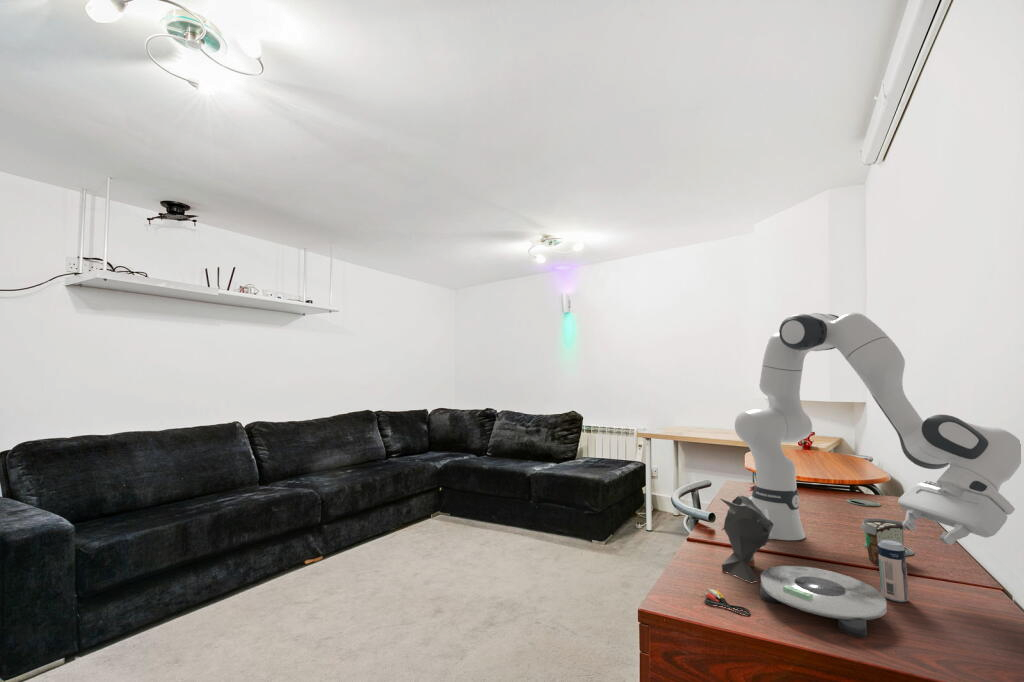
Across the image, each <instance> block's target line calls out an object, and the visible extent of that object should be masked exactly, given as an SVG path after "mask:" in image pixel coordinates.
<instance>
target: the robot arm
mask: <svg viewBox="0 0 1024 682" xmlns="http://www.w3.org/2000/svg"><path fill="white" fill-rule="evenodd" d="M778 330H779V331H778V332H777V333H774V334H772V336H770V337H769V339H768V342H767V345H766V347H765V351H764V353H763V354H764V355H763V358H762V359H763V360H762V365H761V366H762V367H761V372H760V379H759V389H760V391H761V392H762V393H763V394H764V395H765V396H767V400H768V408H752V409H750V410H745V411H743V412H740V413H739V414H738V415H736V418H735V420H734V429H735V433H736V434H737V436H738V438H739V439H741V440H742V441H743V442H744V443H745V444H746V445H747V446H748V448H749V450H750V452H751V454H752V457H753V461H754V466H755V479H756V484H755V485H753V486H751V487H749V489H748V491H749V492H752V493H751V496H749V497H748V498H749V499H750V500H752V502H753V503H754V505H755V506H756V507H757V508H758V509H760V510H761V512H762V513H763V514H764V516H765V517H766V518H767V519H769V520H770V521H771V522H772V523H773V524H774V525H773V527H772V529H771V532H770V535H769V538H768V540H772V539H773V540H781V541H800V540H803V539H805V538H806V534H805V531H804V529H803V527H802V526H803V525H802V521H801V517H800V516H801V515H800V512H799V511H800V510H799V508H800V498H799V489H798V488H797V474H796V473H797V472H796V465H795V463H794V461H793V460H792V459H791V458H788V457H787V456H786V455H785V453H784V449H783V448H782V444H784V443H785V444H786V443H795V442H797V443H798V442H800V441H803V440H805V439H808V437H810V435H812V433H813V432H812V431H813V423H812V420H811V418H810V416H809V415H808V414H807V413H806V412H805V411H804V409H803V406H802V402H801V398H800V397H801V395H800V391H801V383H802V382H801V381H802V375H803V369H804V361H805V358H806V356H807V354H808V353H810V352H822V351H830V350H834V349H836V350H837V351H839V353H840V354H841V355H842V356H843V357H844V358H845V360H846V361H847V362H848V364H849V365H850V366H851V368H852V369H853V370H854V371H855V373H856V374H857V375H858V376H859V378H860V379H861V381H862V382H863V384H864V385H865V386H866V388H867V390H868V391H869V393H870V394H871V396H872V398H873V399H874V401H875V403H876V404H877V405H878V407H879V408H880V410H881V411H882V413H883V414H884V416H885V417H886V418H887V420H888V422H889V423H890V424H891V426H892V427H893V429H894V430H895V432H896V434H897V436H898V439H899V441H900V446H901V450H902V453H903V454H904V455H905V457H906V458H907V459H908V460H909V461H910V462H911V463H913V464H915V465H916V466H918V467H921V468H923V469H928V470H941V469H944V468H946V467H947V469H946V470H945V471H944V472H943V473H942V475H940V477H939V478H938V479H937V480H936V482H933V481H931V480H925V481H922V482H918V483H915V484H914V485H912V486H911V487H909V488H908V490H906V491H905V492H904V493H903V494H902V495H900V497H899V498H898V500H897V501H898V506H899V507H901V508H902V509H903V510H904V511H905V520H903V521H902V522H903V523H902V526H904V527H905V530H909V531H914V530H915V529H916V528H917V527H918V526H917V525H916V524H915V523H916V520H919V519H920V518H922V519H927V520H929V521H933V522H936V523H937V524H942V525H945V526H948V527H951V528H953V529H951V530H949V531H948V532H947V531H943V532H942V533H941V534H940V536H939V539H940V541H942V542H943V543H944V544H947V545H950V546H953V544H954V543H955V542H956V541H958V540H962V539H964V538H967V537H968V536H969V535H970V534H973V535H977V536H979V537H982V538H989V537H993V536H995V535H996V534H997V533H998V532H999V531H1000V530H1001V529H1002V527H1004V525H1005V524H1006V522H1007V520H1008V516H1010V515H1012V514H1013V513H1014V511H1015V510H1016V508H1015V507H1014V505H1013V504H1011V503H1010V501H1008V500H1007V498H1006V497H1004V496H1003V495H1002V494H1001V493H1000V492H999V491H1000V488H1001V486H1002V485H1003V484H1004V483H1006V482H1007V481H1009V480H1010V479H1011V478H1012V477H1013V476H1014V474H1015V473H1016V472H1017V470H1018V469H1019V468H1020V466H1021V465H1022V463H1021V444H1020V441H1021V440H1020V439H1019V438H1018V437H1017V436H1016V435H1015V434H1013V433H1011V432H1009V431H1007V430H1005V429H1003V428H999V427H994V426H992V427H988V426H980V425H976V424H972V423H969V422H966V421H964V420H962V419H960V418H958V417H955V416H953V415H948V414H935V415H932V416H929V417H927V418H926V419H924V420H923V419H922V417H921V416H920V415H919V413H918V411H917V409H915V407H914V406H913V405H912V403H911V402H910V401H909V400H908V398H907V396H906V394H905V391H904V387H903V379H904V371H905V366H906V365H905V364H906V361H905V360H906V359H905V358H904V356H903V354H902V352H901V350H900V349H899V347H898V346H897V345H896V343H895V342H894V341H893V340H892V339H891V338H890V337H889V335H888V334H887V333H886V332H885V331H883V330H882V328H880V327H879V325H878V324H876V323H875V322H874V321H872V320H871V319H870V318H868V317H867V316H866V315H864V314H862V313H858V312H850V313H846V314H843V315H840V316H838V315H835V314H832V313H831V314H827V313H818V312H814V313H798V314H794V315H791V316H789V317H786V318H785V319H784V320H783V321H781V324H780V326H779V329H778ZM1020 464H1021V465H1020ZM948 466H949V467H948Z"/></svg>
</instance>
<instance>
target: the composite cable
mask: <svg viewBox="0 0 1024 682" xmlns="http://www.w3.org/2000/svg"><path fill="white" fill-rule="evenodd" d="M706 590H707V591H708V592H705V591H702V594H703V595H704V597H705V598H704V604H706V603H707V604H706V605H709V604H710V605H709V606H712V605H717V606H723V607H726V608H730V609H732V610H734V611H736V612H738V613H741V614H745V615H749V614H750V615H751V610H749V609H748V608H746V607H743V606H740V605H733V604H730V603H728V602H727V600H726V598H725V597H724V596H723V594H722V593H721V592H720V591H719V590H716V589H711V588H708V587H707V588H706ZM733 608H735V609H738V610H743V611H746V612H747V613H745V612H741V611H738V610H735V609H733Z"/></svg>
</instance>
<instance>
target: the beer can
mask: <svg viewBox="0 0 1024 682" xmlns="http://www.w3.org/2000/svg"><path fill="white" fill-rule="evenodd" d="M906 554H907V553H906V548H905V546H903V544H902V543H900V542H898V541H894V540H887V539H881V540H880V542H879V543H878V555H879V565H878V569H879V580H880V581H879V583H880V592H881V593H882V594H883V595H884V597H885V599H886V600H890V601H893V602H898V603H904V602H905V603H906V602H908V601H909V600H910V597H909V596H910V595H909V594H910V593H909V582H908V570H907V569H908V568H907V557H906Z"/></svg>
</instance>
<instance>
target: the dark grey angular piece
mask: <svg viewBox="0 0 1024 682" xmlns="http://www.w3.org/2000/svg"><path fill="white" fill-rule="evenodd" d="M720 501H722V502H723V503H724V504H726V505H727V506H728V507H729V508H728V509H727V513H726V516H725V519H724V524H723V528H722V529H721V530H720V532H721V531H723V530H724V531H725V534H726V535H727V537H728V540H729V543H730V545H731V549H732V551H733V553H731V554H730V556H728V557H727V559H726V560H725V561H723V563H721V571H725V572H728V573H730V574H732V575H736V576H738V577H740V578H742V579H744V580H747V581H749V582H754V581H759V579H758V578H757V575H756V574H755V573H754V570H753V569H752V567H750V566H754V565H756V563H755V562H756V561H755V554H756V553H757V552H758V551H759V550H760V549H762V547H765V546H766V544H767V543H768V541H769V539H768V538H769V535H770V532H771V529H772V527H773V525H774V524H773V523H772V522H771V521H770V520H769V519H767V518H766V517H765V516H764V514H763V513H762V512H761V510H760V509H758V508H757V507H756V506H755V505H754V503H753V502H752V500H750V499H749V497H747V496H744V495H738V496H736V497H735V498H734V499H733V500H732V501H728V500H725V499H723V498H720ZM754 567H755V566H754ZM725 572H724V573H725ZM732 575H731V576H732Z"/></svg>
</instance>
